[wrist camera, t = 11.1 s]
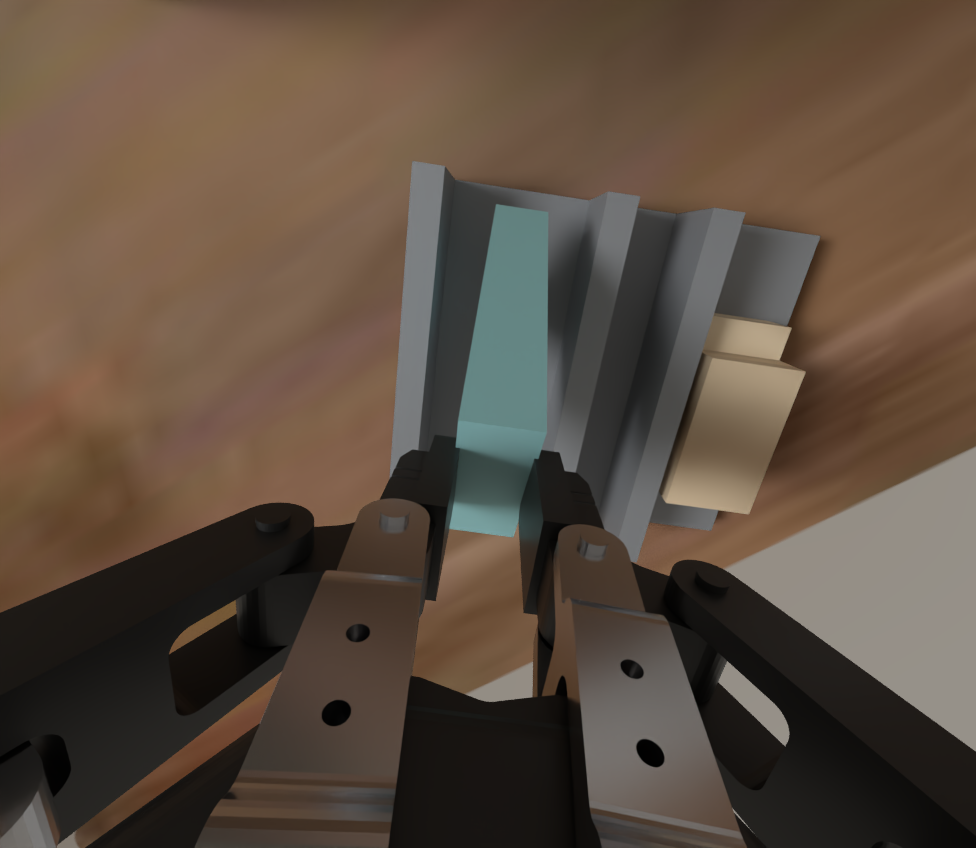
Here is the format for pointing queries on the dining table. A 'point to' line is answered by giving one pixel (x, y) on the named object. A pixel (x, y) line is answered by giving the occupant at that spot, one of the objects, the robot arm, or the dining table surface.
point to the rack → (589, 326)
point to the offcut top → (729, 431)
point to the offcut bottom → (746, 336)
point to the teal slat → (505, 377)
